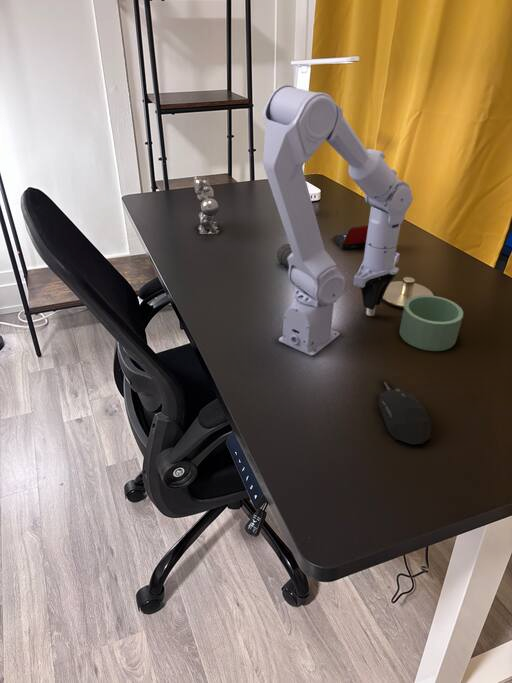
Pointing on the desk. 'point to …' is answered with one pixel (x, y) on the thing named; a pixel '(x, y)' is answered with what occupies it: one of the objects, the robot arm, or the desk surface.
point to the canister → (430, 322)
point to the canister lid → (404, 291)
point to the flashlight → (284, 254)
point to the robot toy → (206, 205)
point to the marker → (371, 311)
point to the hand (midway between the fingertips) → (371, 305)
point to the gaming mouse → (404, 416)
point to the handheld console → (352, 238)
